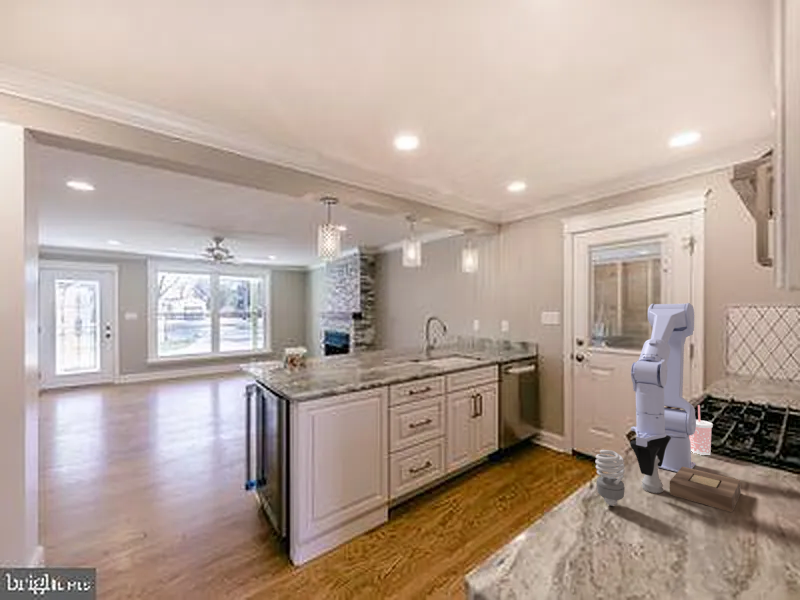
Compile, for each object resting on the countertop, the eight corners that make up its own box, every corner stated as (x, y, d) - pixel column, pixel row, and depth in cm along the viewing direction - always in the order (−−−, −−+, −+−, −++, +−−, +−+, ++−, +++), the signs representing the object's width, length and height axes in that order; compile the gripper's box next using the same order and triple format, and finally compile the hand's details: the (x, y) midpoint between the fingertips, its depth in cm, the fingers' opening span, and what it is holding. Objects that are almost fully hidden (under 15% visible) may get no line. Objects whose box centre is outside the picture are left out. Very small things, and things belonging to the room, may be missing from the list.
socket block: (682, 478, 98) (682, 466, 98) (740, 493, 89) (740, 480, 90) (669, 494, 89) (669, 481, 89) (732, 512, 81) (731, 497, 81)
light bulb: (590, 502, 86) (589, 448, 87) (608, 497, 88) (606, 444, 89) (613, 514, 81) (611, 456, 81) (631, 509, 83) (630, 452, 84)
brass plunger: (694, 478, 93) (694, 474, 93) (720, 485, 89) (720, 480, 89) (689, 485, 90) (689, 480, 90) (716, 492, 86) (716, 487, 86)
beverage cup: (683, 448, 118) (681, 402, 118) (705, 449, 117) (703, 402, 117) (695, 456, 112) (693, 407, 112) (719, 457, 111) (717, 407, 111)
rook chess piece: (667, 494, 89) (666, 459, 90) (645, 493, 90) (644, 458, 90) (658, 486, 94) (657, 452, 94) (638, 484, 95) (637, 451, 95)
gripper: (640, 403, 100) (642, 456, 100) (620, 414, 90) (622, 473, 90) (673, 408, 95) (674, 464, 95) (656, 420, 85) (657, 483, 85)
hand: (651, 469), depth 92 cm, fingers open, 7 cm apart
